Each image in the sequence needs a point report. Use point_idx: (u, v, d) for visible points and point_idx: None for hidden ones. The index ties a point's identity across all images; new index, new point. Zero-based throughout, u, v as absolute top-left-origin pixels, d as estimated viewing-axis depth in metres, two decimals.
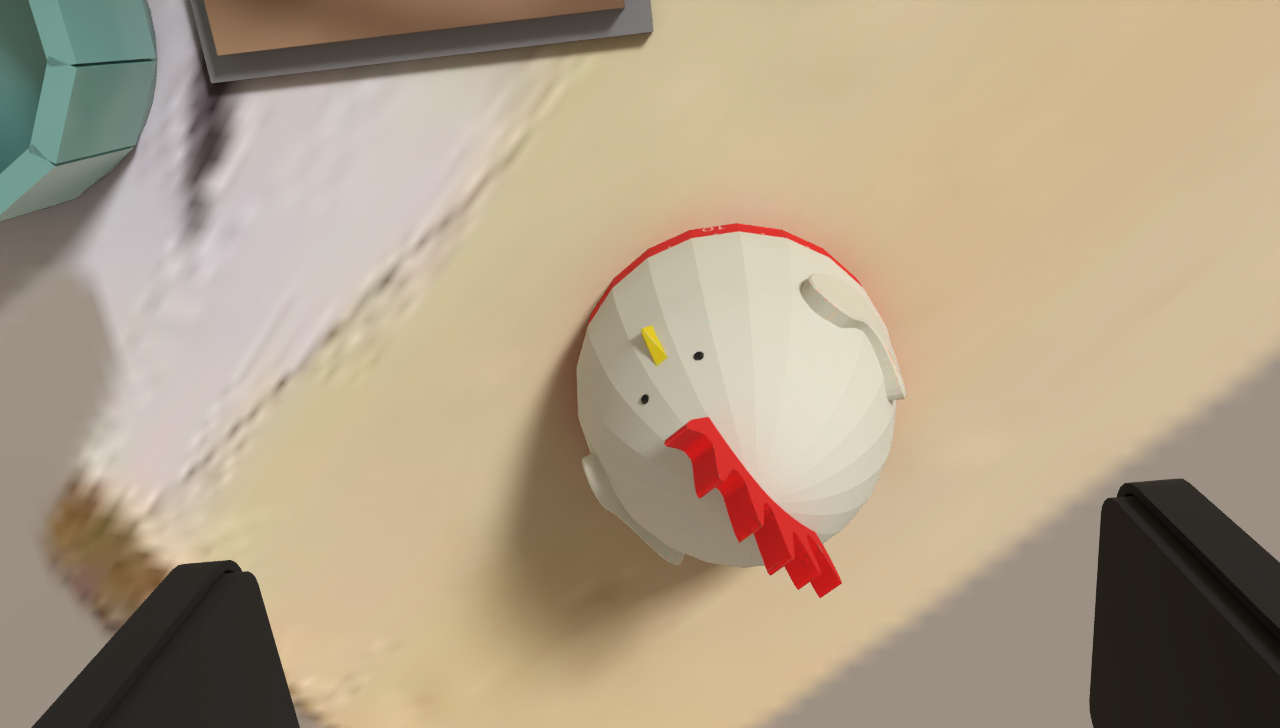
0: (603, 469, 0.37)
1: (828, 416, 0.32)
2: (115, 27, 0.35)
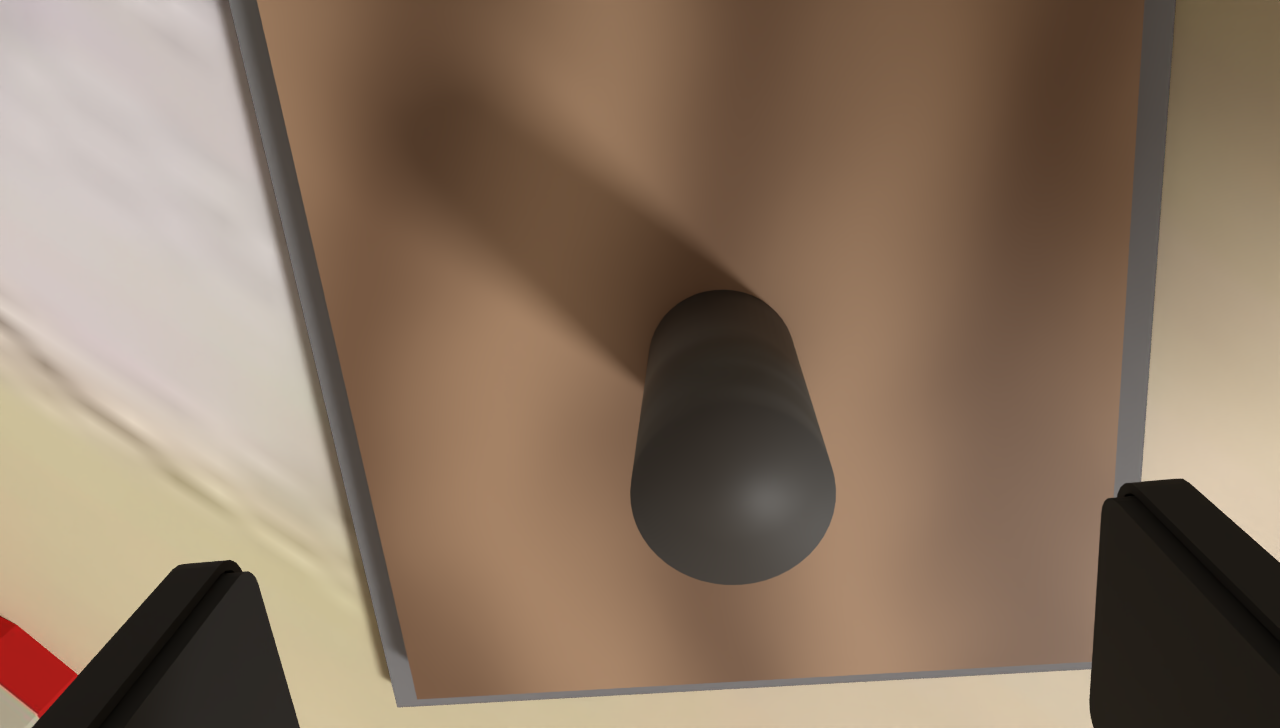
0: None
1: None
2: None
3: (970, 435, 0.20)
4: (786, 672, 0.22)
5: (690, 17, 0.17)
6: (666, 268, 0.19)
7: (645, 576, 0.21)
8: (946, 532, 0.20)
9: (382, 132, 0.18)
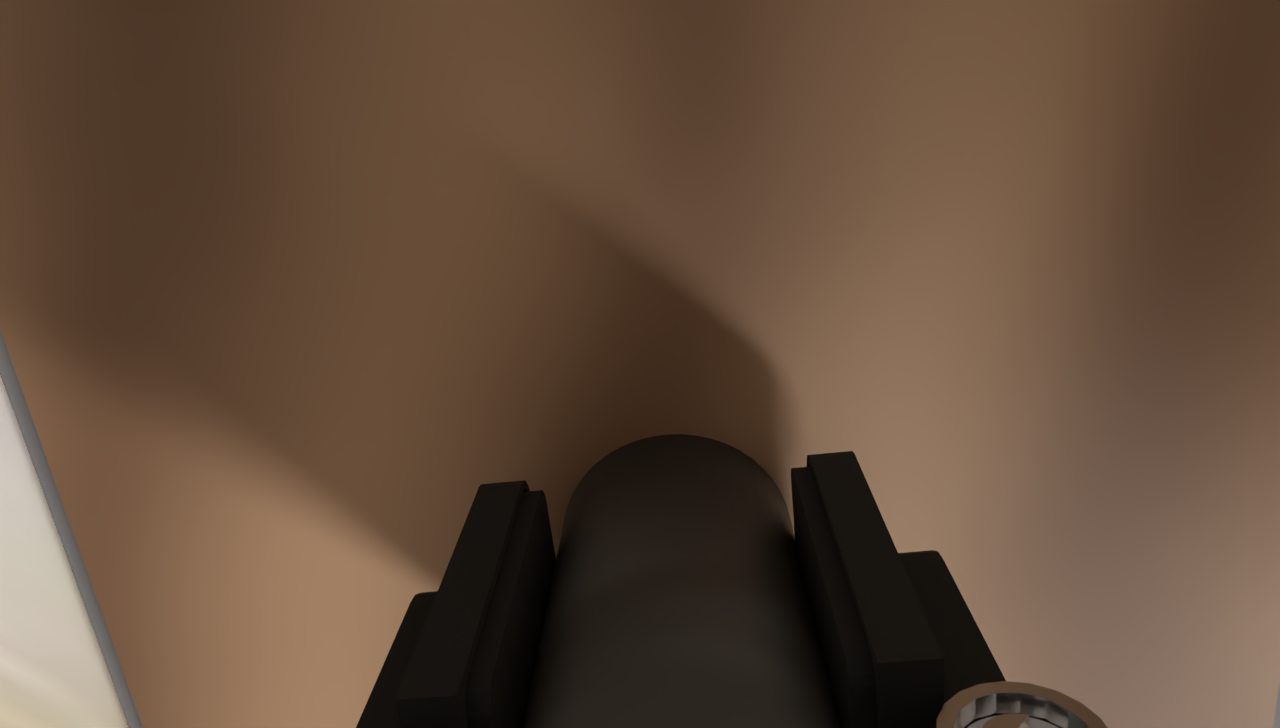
0: None
1: None
2: None
3: (1060, 644, 0.13)
4: None
5: None
6: (585, 403, 0.12)
7: None
8: None
9: (109, 190, 0.11)
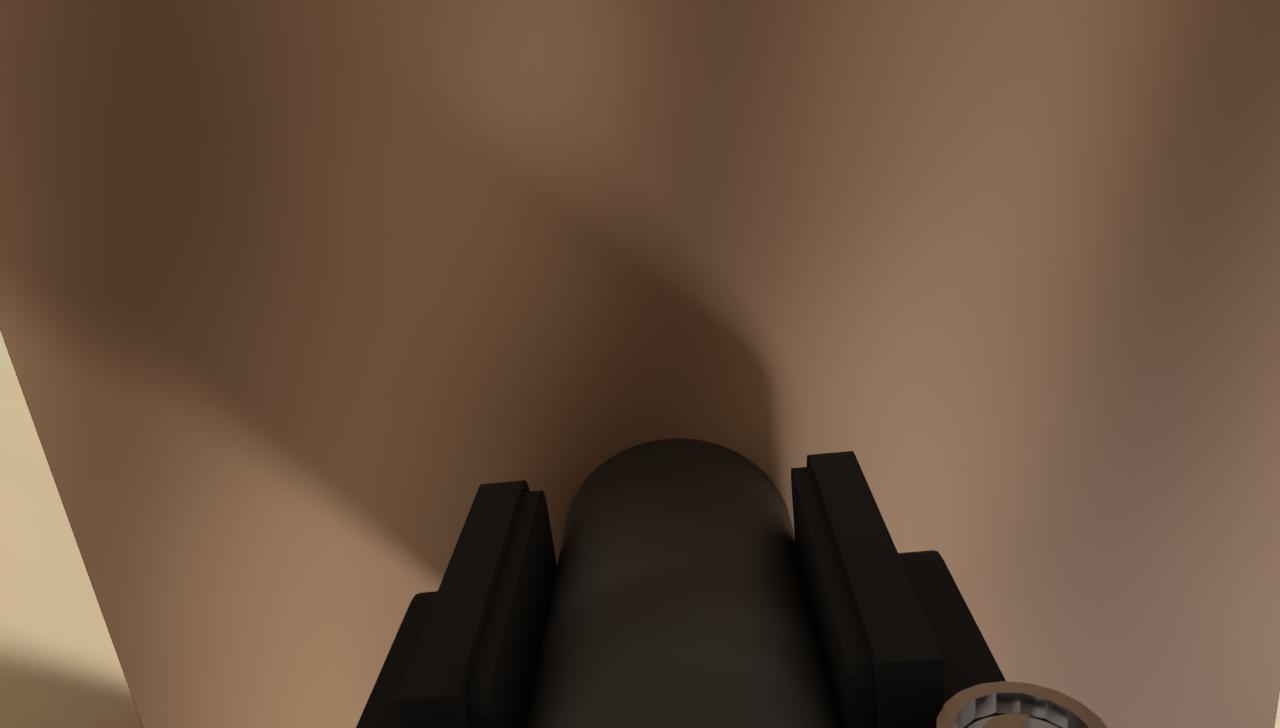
0: None
1: None
2: None
3: (1061, 648, 0.13)
4: None
5: (615, 2, 0.10)
6: (587, 407, 0.12)
7: None
8: None
9: (110, 195, 0.11)
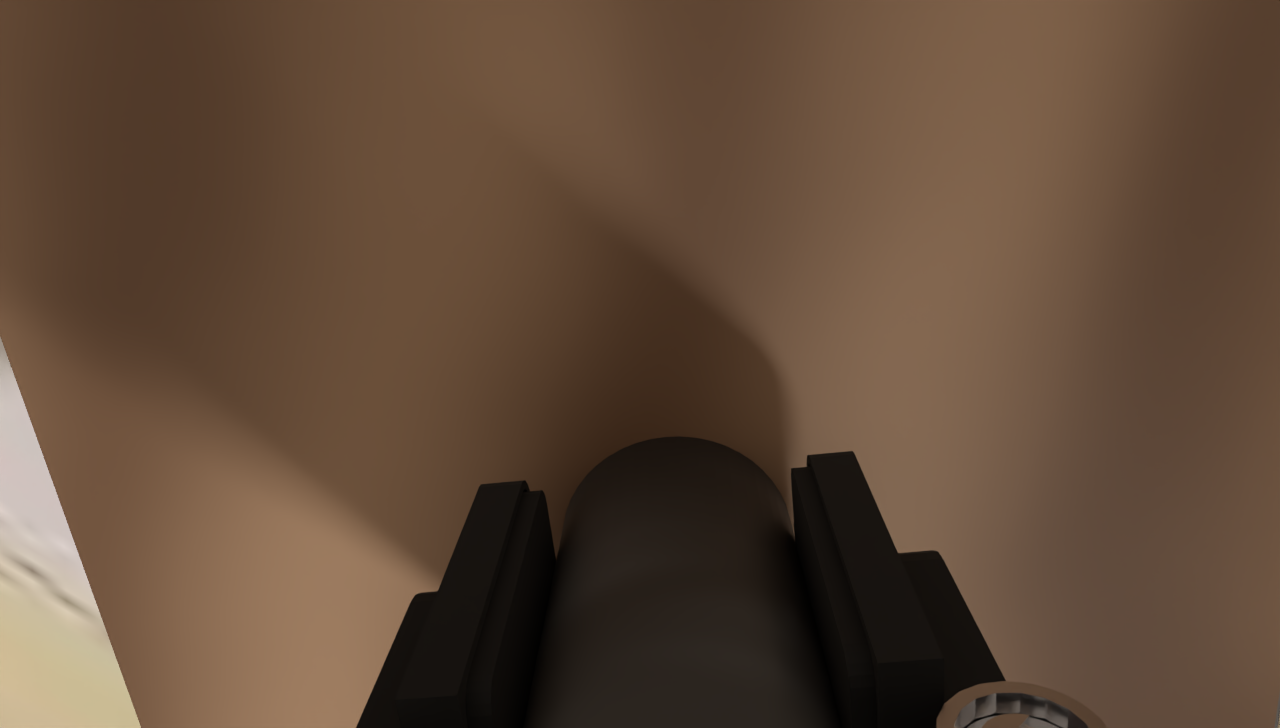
0: None
1: None
2: None
3: (1061, 646, 0.13)
4: None
5: None
6: (585, 405, 0.12)
7: None
8: None
9: (107, 193, 0.11)
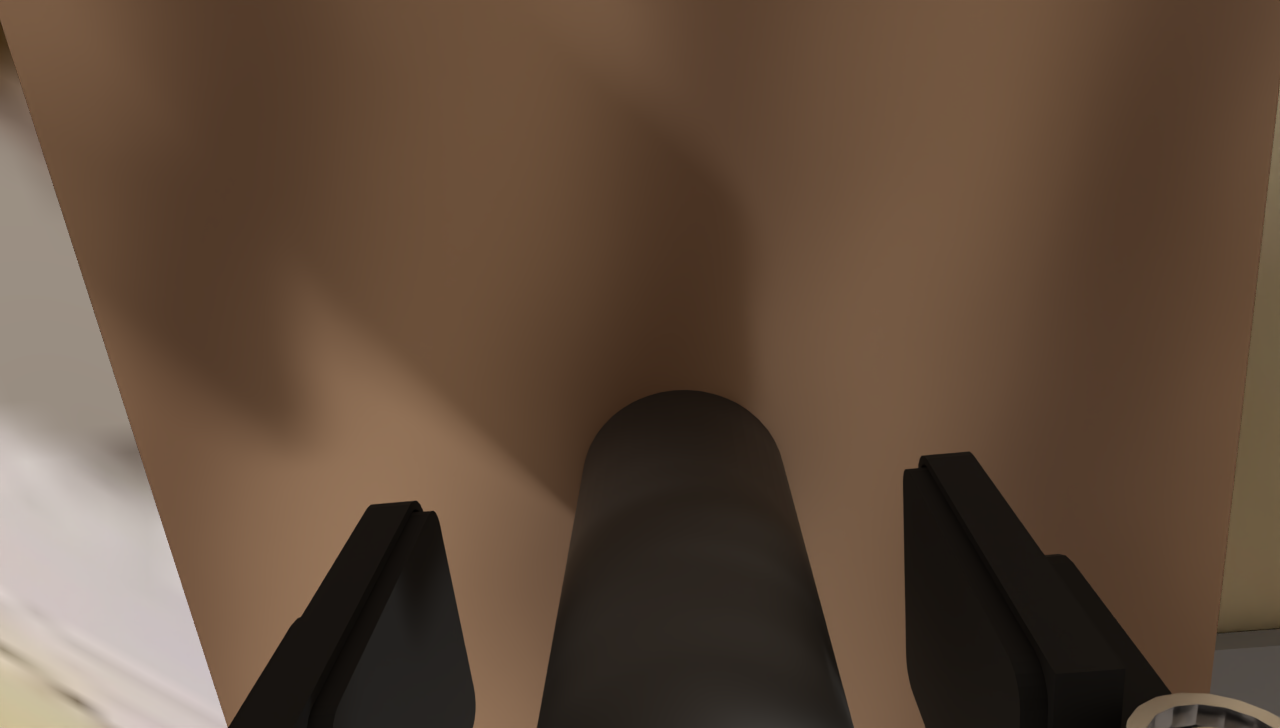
0: None
1: None
2: None
3: None
4: None
5: (630, 6, 0.12)
6: (603, 362, 0.13)
7: None
8: None
9: (189, 174, 0.13)
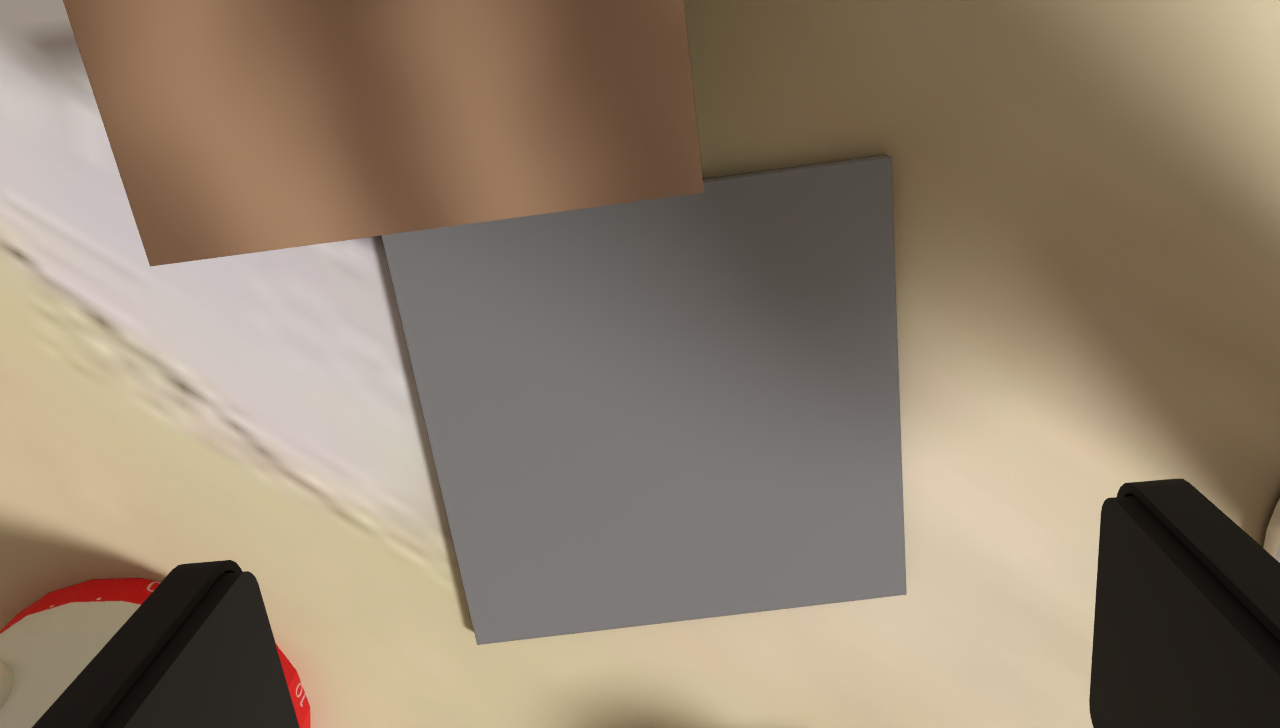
0: None
1: None
2: None
3: None
4: (452, 219, 0.27)
5: None
6: None
7: (325, 132, 0.26)
8: (561, 77, 0.25)
9: None
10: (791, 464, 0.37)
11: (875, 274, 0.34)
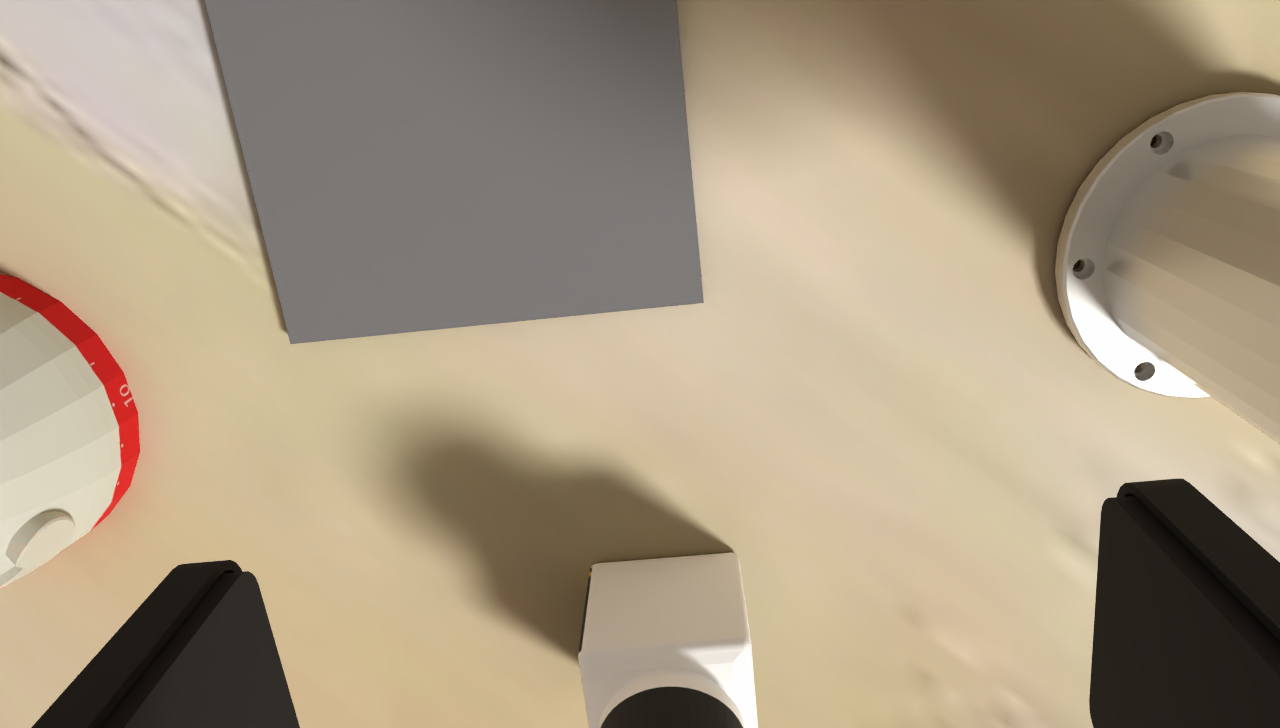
0: None
1: None
2: None
3: None
4: None
5: None
6: None
7: None
8: None
9: None
10: (583, 155, 0.38)
11: None
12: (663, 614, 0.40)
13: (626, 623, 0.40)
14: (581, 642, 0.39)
